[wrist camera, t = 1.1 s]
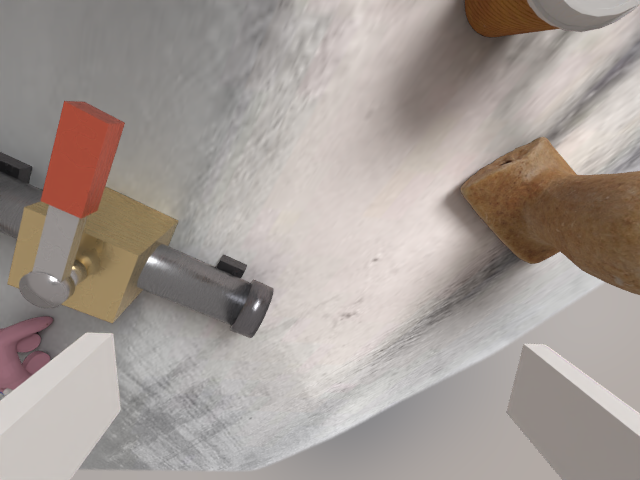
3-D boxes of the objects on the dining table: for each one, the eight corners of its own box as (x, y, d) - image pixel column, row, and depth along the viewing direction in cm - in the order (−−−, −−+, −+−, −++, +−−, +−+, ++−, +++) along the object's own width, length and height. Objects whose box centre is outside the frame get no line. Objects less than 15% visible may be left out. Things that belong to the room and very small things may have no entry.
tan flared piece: (607, 203, 36) (796, 261, 22) (519, 268, 39) (636, 356, 25) (544, 103, 31) (731, 98, 18) (449, 186, 34) (546, 237, 21)
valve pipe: (-40, 118, 30) (-215, 123, 20) (280, 268, 37) (270, 325, 28) (-49, 189, 32) (-208, 225, 22) (252, 316, 40) (234, 384, 30)
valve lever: (72, 303, 26) (56, 316, 24) (31, 287, 25) (12, 300, 23) (129, 125, 21) (113, 126, 19) (79, 99, 20) (58, 98, 18)
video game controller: (34, 306, 40) (-41, 341, 34) (54, 314, 38) (-21, 352, 32) (61, 364, 44) (-2, 404, 38) (80, 374, 42) (17, 417, 36)
